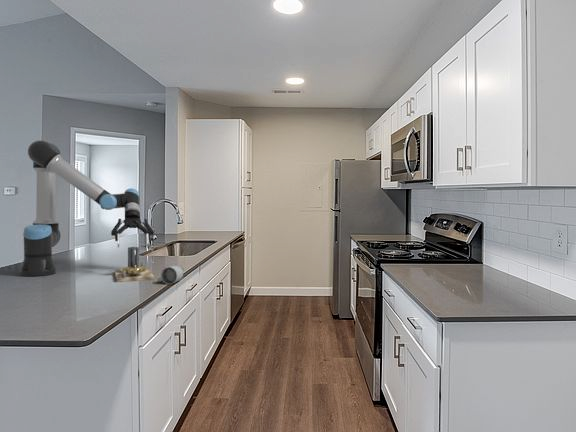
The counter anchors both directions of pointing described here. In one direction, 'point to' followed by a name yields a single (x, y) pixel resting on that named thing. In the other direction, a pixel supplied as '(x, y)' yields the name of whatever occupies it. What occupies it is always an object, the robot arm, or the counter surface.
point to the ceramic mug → (171, 275)
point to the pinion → (133, 256)
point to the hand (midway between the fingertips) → (133, 245)
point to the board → (123, 276)
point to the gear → (134, 269)
